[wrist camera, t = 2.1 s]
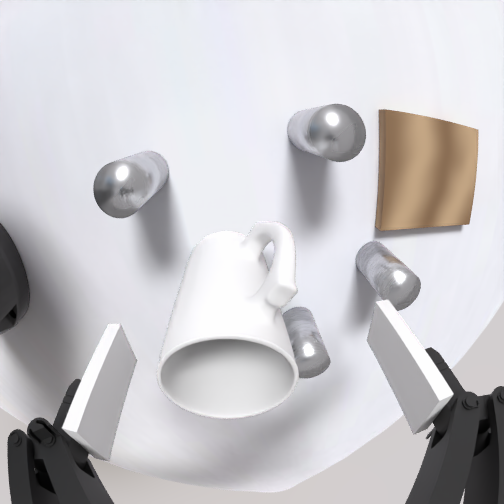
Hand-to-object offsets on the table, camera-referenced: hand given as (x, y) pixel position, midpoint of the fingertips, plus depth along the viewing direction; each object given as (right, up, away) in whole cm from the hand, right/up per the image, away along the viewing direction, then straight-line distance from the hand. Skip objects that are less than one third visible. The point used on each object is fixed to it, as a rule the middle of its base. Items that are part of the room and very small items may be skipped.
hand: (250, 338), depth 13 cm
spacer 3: (+4, -2, +13) cm, 13 cm away
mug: (-1, +5, +9) cm, 10 cm away
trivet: (+16, +12, +7) cm, 21 cm away
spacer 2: (+4, +13, +5) cm, 15 cm away
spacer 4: (+11, +4, +10) cm, 15 cm away
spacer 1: (-8, +10, +6) cm, 14 cm away
